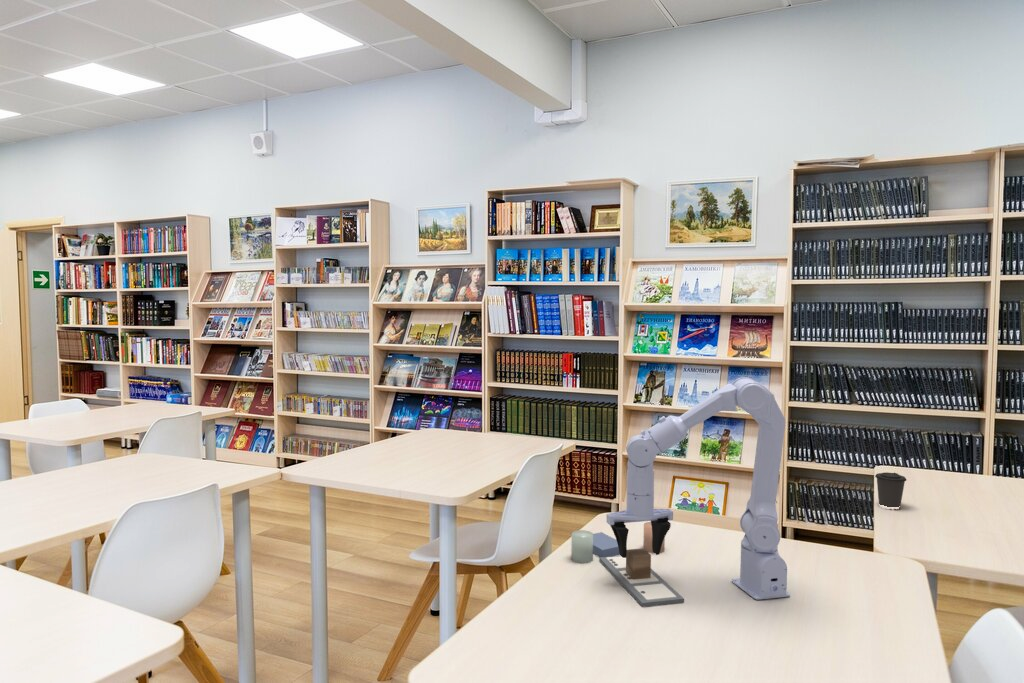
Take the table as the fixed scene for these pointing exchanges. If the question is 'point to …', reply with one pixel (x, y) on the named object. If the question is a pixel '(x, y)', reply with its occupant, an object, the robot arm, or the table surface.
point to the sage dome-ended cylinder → (582, 546)
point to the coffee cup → (890, 489)
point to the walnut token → (638, 563)
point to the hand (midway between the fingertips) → (639, 554)
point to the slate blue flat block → (604, 545)
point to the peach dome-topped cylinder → (650, 538)
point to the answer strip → (642, 584)
